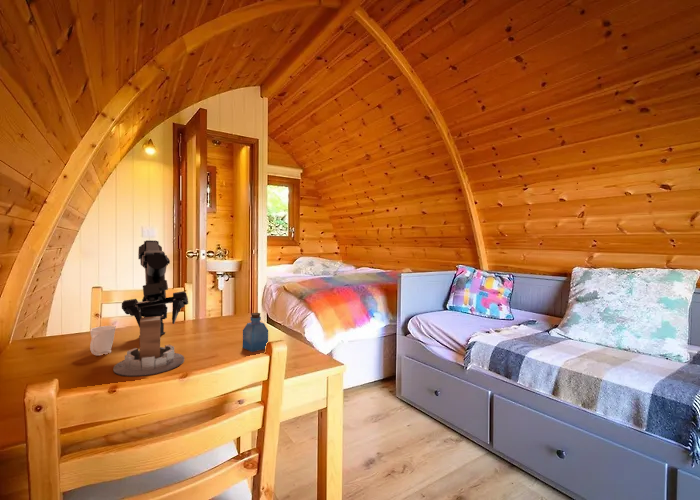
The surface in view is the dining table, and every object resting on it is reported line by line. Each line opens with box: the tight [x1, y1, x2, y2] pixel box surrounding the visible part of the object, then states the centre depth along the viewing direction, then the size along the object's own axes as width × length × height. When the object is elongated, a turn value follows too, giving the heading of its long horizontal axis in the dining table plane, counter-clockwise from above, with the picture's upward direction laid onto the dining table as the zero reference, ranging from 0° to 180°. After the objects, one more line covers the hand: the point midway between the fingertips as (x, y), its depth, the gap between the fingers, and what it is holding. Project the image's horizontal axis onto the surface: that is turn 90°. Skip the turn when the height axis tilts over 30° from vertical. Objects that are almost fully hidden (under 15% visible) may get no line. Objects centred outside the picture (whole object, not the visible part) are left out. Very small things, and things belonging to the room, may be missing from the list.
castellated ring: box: [113, 344, 185, 378], centre depth 99 cm, size 18×18×4 cm
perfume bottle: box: [242, 312, 269, 353], centre depth 116 cm, size 6×6×12 cm
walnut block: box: [139, 316, 161, 360], centre depth 99 cm, size 5×5×13 cm
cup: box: [89, 325, 116, 357], centre depth 107 cm, size 7×10×8 cm
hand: (157, 326), depth 108 cm, fingers open, 9 cm apart
